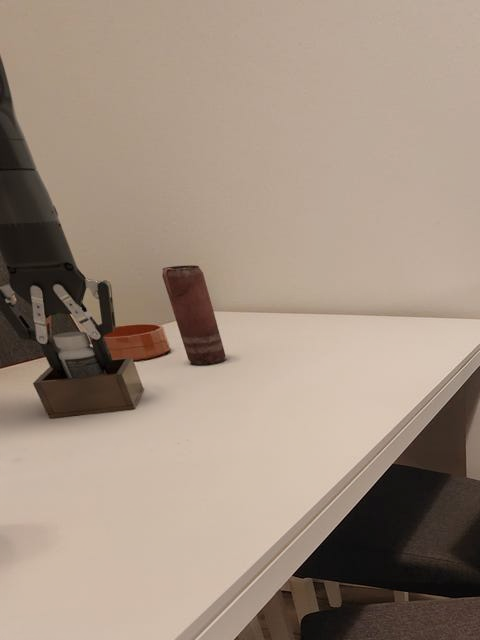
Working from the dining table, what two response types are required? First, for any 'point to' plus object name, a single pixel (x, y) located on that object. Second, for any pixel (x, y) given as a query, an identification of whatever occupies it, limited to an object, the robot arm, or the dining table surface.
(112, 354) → the bowl
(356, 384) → the dining table surface
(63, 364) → the pill bottle
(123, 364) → the holder
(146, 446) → the dining table surface
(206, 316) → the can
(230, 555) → the dining table surface
